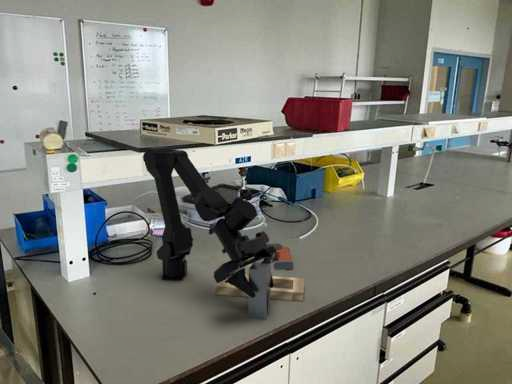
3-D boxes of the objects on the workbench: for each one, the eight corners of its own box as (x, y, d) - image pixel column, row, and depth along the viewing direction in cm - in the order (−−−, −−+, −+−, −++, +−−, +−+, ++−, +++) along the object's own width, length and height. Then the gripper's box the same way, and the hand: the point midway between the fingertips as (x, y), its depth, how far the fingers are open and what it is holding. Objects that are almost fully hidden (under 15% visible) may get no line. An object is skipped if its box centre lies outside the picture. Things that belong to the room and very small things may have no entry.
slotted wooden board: (216, 294, 118) (216, 285, 118) (222, 280, 127) (222, 271, 126) (303, 301, 115) (303, 292, 115) (303, 286, 124) (304, 277, 123)
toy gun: (293, 271, 135) (292, 249, 150) (292, 256, 134) (290, 235, 148) (238, 275, 137) (241, 253, 151) (236, 261, 135) (240, 240, 149)
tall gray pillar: (248, 316, 107) (248, 268, 104) (253, 308, 111) (254, 262, 108) (264, 319, 106) (266, 271, 103) (269, 311, 110) (270, 264, 107)
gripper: (222, 232, 98) (257, 291, 94) (272, 215, 112) (305, 265, 108) (199, 255, 105) (231, 311, 101) (249, 236, 119) (279, 284, 115)
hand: (263, 292), depth 106 cm, fingers open, 7 cm apart
